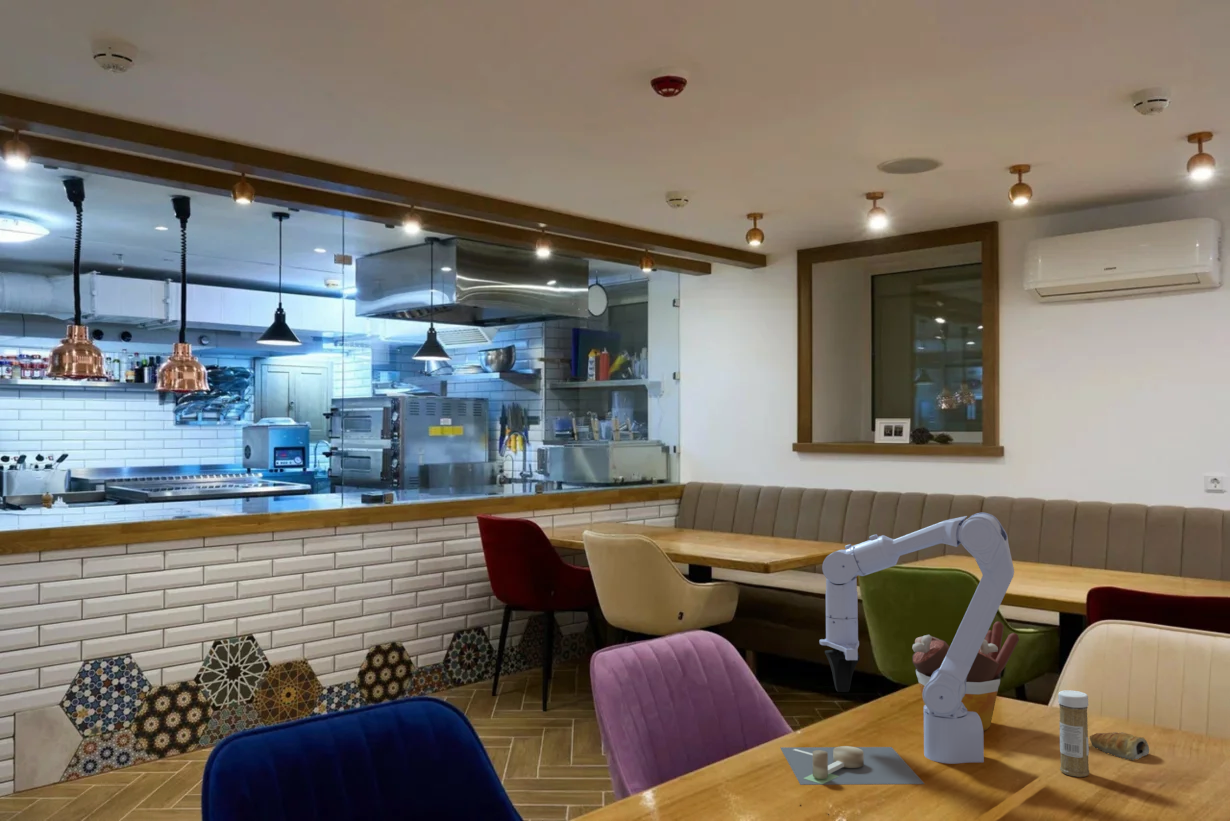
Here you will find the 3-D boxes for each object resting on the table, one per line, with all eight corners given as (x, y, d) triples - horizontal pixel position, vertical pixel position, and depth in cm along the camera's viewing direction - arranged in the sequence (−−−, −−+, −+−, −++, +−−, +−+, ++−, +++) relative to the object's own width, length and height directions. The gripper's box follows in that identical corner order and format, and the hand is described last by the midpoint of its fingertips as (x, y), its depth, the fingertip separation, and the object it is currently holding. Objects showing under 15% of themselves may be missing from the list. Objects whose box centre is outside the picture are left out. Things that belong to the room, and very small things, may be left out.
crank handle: (842, 755, 164) (842, 733, 164) (869, 762, 161) (868, 739, 161) (803, 774, 155) (802, 750, 155) (829, 782, 152) (829, 758, 152)
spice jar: (1094, 774, 159) (1093, 693, 160) (1079, 779, 157) (1078, 698, 157) (1069, 766, 163) (1067, 687, 164) (1053, 771, 161) (1052, 691, 161)
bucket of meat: (935, 740, 177) (934, 633, 178) (895, 714, 193) (894, 617, 194) (1033, 734, 180) (1031, 629, 181) (985, 710, 197) (984, 614, 197)
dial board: (891, 753, 170) (891, 746, 170) (924, 791, 152) (924, 783, 152) (780, 754, 170) (780, 747, 170) (800, 792, 152) (800, 784, 152)
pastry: (1081, 748, 173) (1081, 727, 173) (1102, 742, 177) (1101, 721, 177) (1133, 763, 165) (1133, 741, 165) (1153, 756, 169) (1153, 734, 169)
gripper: (811, 609, 181) (812, 680, 180) (829, 624, 166) (829, 702, 166) (848, 609, 181) (849, 680, 180) (869, 624, 166) (869, 702, 166)
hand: (842, 691), depth 173 cm, fingers closed
